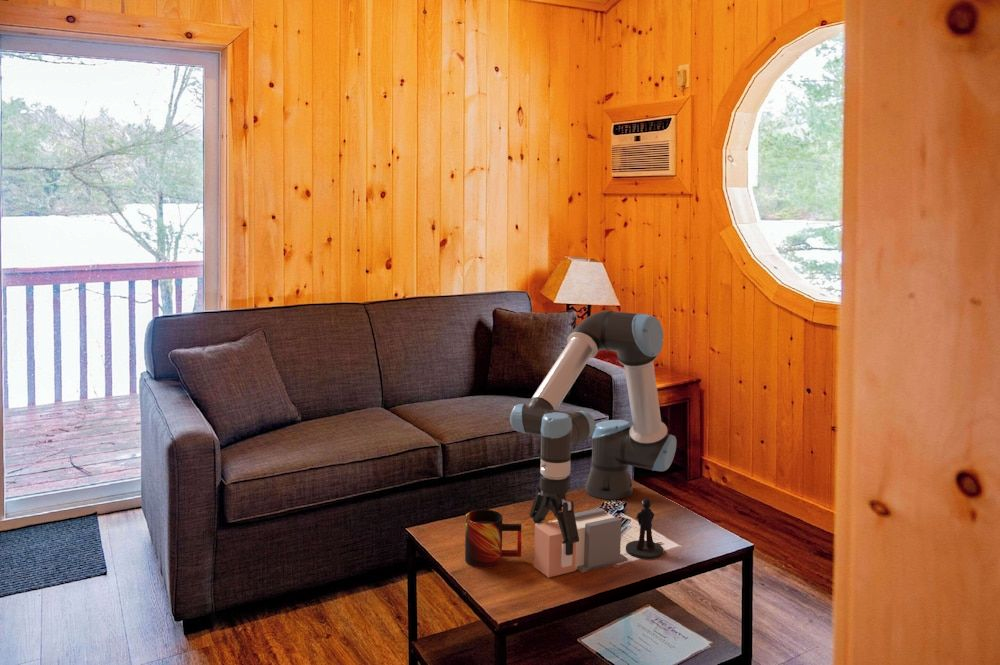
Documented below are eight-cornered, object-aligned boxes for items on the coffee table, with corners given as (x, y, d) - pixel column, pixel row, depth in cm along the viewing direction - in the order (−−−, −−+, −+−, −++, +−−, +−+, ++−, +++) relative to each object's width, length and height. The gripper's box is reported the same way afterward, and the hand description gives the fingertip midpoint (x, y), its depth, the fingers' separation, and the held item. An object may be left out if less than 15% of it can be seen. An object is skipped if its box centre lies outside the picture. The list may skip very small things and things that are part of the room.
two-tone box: (606, 548, 227) (608, 506, 225) (627, 561, 219) (629, 517, 217) (559, 559, 219) (560, 516, 217) (578, 573, 212) (580, 528, 210)
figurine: (656, 542, 231) (658, 491, 229) (668, 558, 221) (671, 504, 219) (621, 544, 230) (623, 492, 227) (632, 560, 220) (634, 506, 217)
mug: (522, 560, 218) (523, 517, 216) (474, 571, 212) (475, 526, 210) (505, 546, 227) (506, 504, 225) (459, 556, 221) (459, 513, 219)
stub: (559, 560, 218) (561, 519, 217) (575, 570, 212) (576, 529, 210) (533, 566, 215) (534, 525, 213) (548, 577, 209) (549, 535, 207)
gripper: (517, 463, 218) (516, 541, 221) (569, 492, 197) (566, 578, 200) (542, 458, 221) (540, 535, 225) (595, 487, 200) (592, 572, 204)
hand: (552, 556), depth 213 cm, fingers open, 12 cm apart
